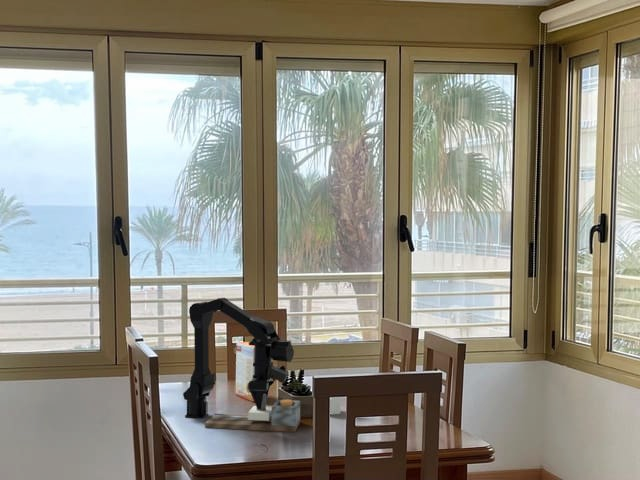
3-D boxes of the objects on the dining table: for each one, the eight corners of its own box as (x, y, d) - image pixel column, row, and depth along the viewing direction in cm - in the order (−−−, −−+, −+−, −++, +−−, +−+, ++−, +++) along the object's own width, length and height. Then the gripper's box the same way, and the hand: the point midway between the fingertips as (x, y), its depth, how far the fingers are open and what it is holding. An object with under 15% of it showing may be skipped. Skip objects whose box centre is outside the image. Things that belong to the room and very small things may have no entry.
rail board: (205, 427, 232) (205, 404, 232) (214, 417, 244) (214, 396, 244) (295, 431, 228) (295, 408, 228) (300, 421, 240) (300, 400, 240)
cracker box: (266, 400, 270) (266, 346, 270) (252, 402, 266) (253, 347, 266) (248, 393, 281) (249, 341, 281) (234, 395, 278) (235, 342, 278)
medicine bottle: (314, 411, 255) (315, 378, 255) (332, 409, 258) (333, 376, 258) (322, 416, 249) (323, 382, 249) (340, 414, 252) (341, 380, 251)
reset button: (279, 408, 233) (279, 402, 233) (281, 405, 237) (281, 399, 237) (291, 408, 233) (291, 402, 233) (293, 405, 237) (293, 399, 237)
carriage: (247, 419, 232) (248, 397, 232) (253, 412, 241) (253, 391, 241) (268, 420, 231) (269, 398, 231) (273, 413, 240) (274, 392, 240)
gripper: (282, 365, 225) (281, 413, 226) (290, 355, 244) (290, 400, 244) (247, 364, 227) (247, 412, 227) (259, 354, 245) (258, 398, 245)
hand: (262, 405), depth 236 cm, fingers open, 9 cm apart
